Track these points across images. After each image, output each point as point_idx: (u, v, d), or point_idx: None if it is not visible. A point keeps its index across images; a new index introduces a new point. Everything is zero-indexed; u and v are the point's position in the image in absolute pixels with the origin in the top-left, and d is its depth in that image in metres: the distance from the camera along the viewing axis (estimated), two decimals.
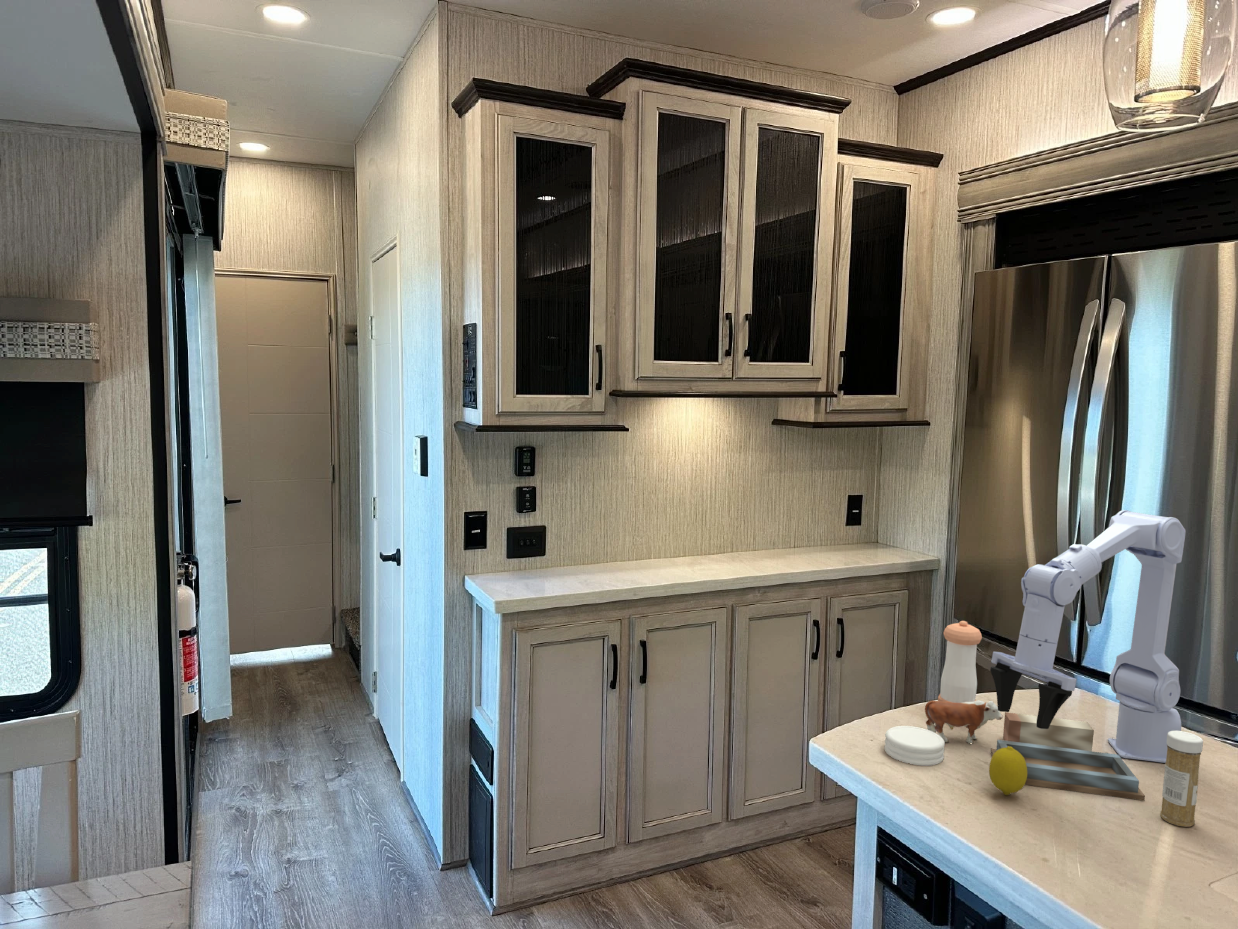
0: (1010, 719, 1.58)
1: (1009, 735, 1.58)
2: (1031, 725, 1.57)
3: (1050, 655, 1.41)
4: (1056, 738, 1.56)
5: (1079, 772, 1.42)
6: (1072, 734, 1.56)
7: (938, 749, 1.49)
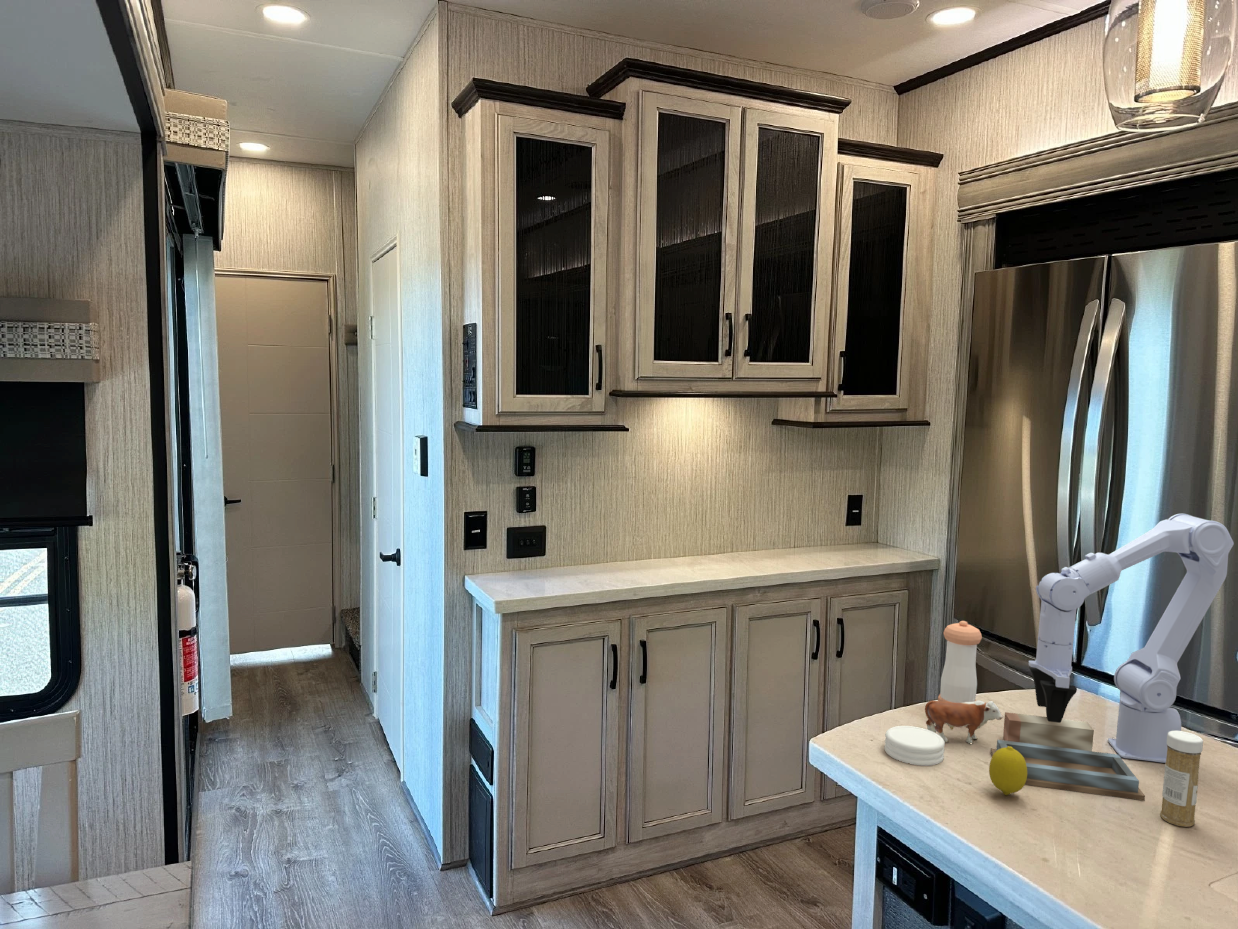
0: (1010, 719, 1.58)
1: (1009, 735, 1.58)
2: (1031, 725, 1.57)
3: (1056, 655, 1.55)
4: (1056, 738, 1.56)
5: (1079, 772, 1.42)
6: (1072, 734, 1.56)
7: (938, 749, 1.49)
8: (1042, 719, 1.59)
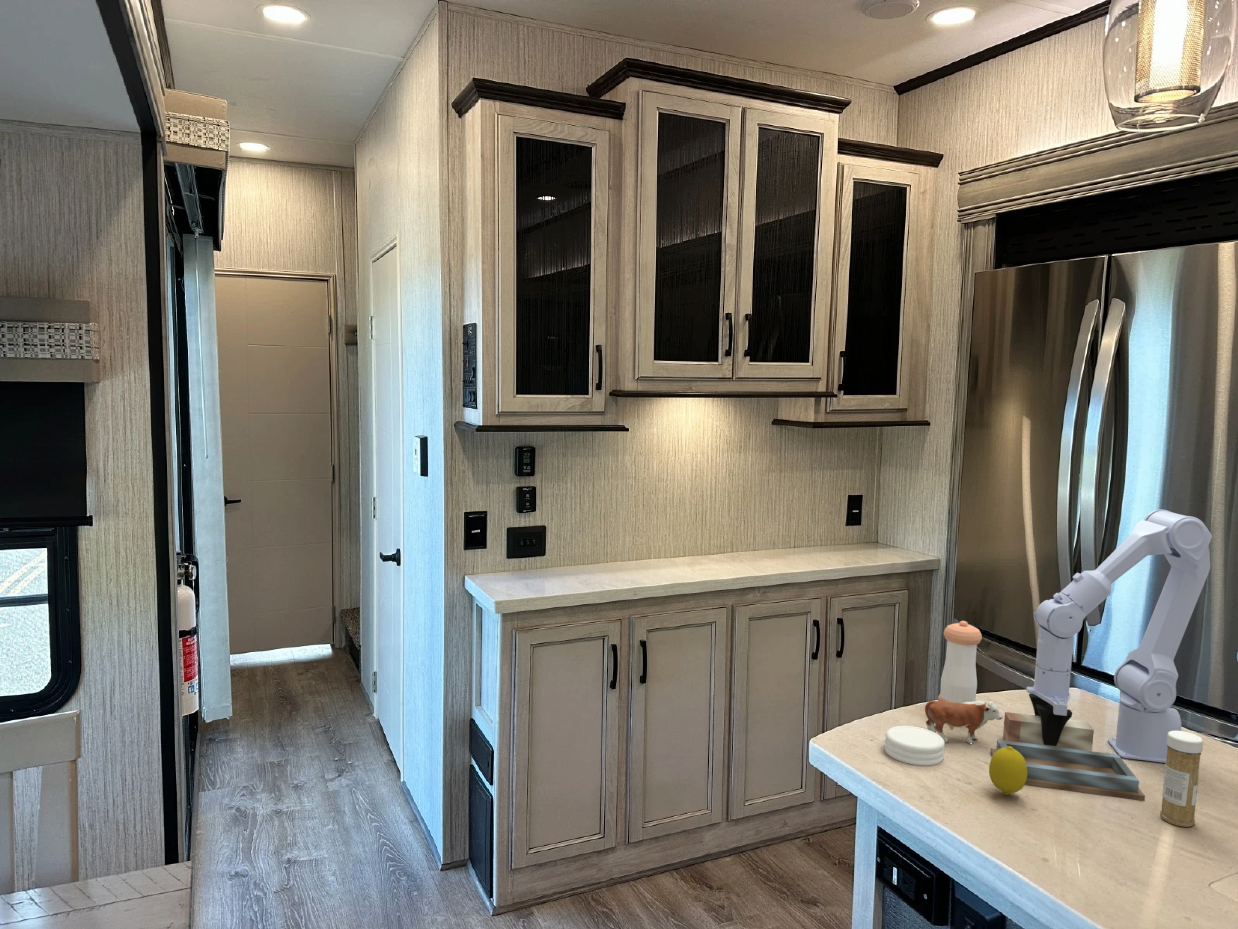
0: (1010, 719, 1.58)
1: (1009, 735, 1.58)
2: (1031, 725, 1.57)
3: (1054, 682, 1.55)
4: None
5: (1079, 772, 1.42)
6: (1072, 733, 1.56)
7: (938, 749, 1.49)
8: None
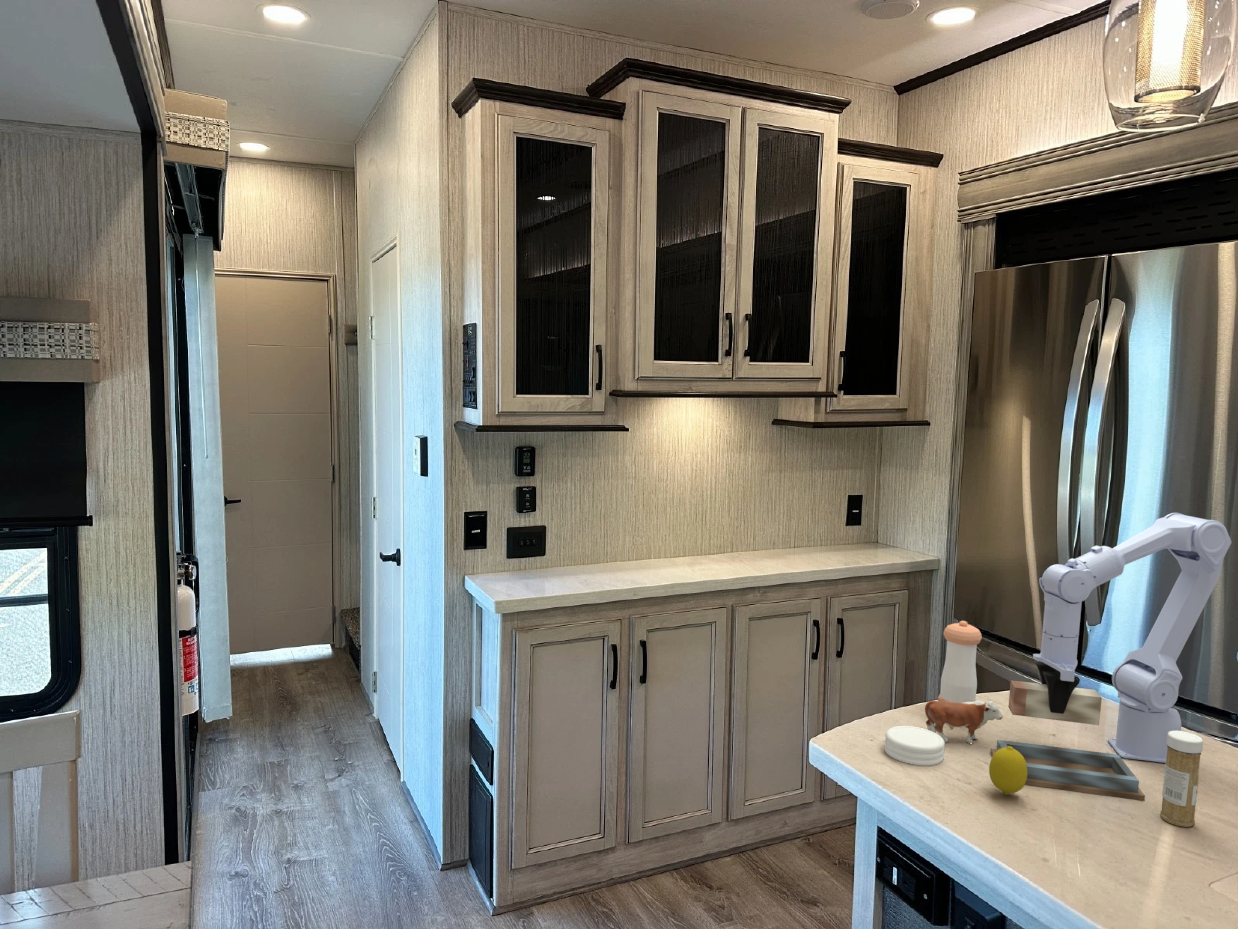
0: (1016, 687, 1.55)
1: (1015, 703, 1.55)
2: (1037, 692, 1.54)
3: (1061, 648, 1.52)
4: None
5: (1079, 772, 1.42)
6: (1080, 701, 1.52)
7: (938, 749, 1.49)
8: None
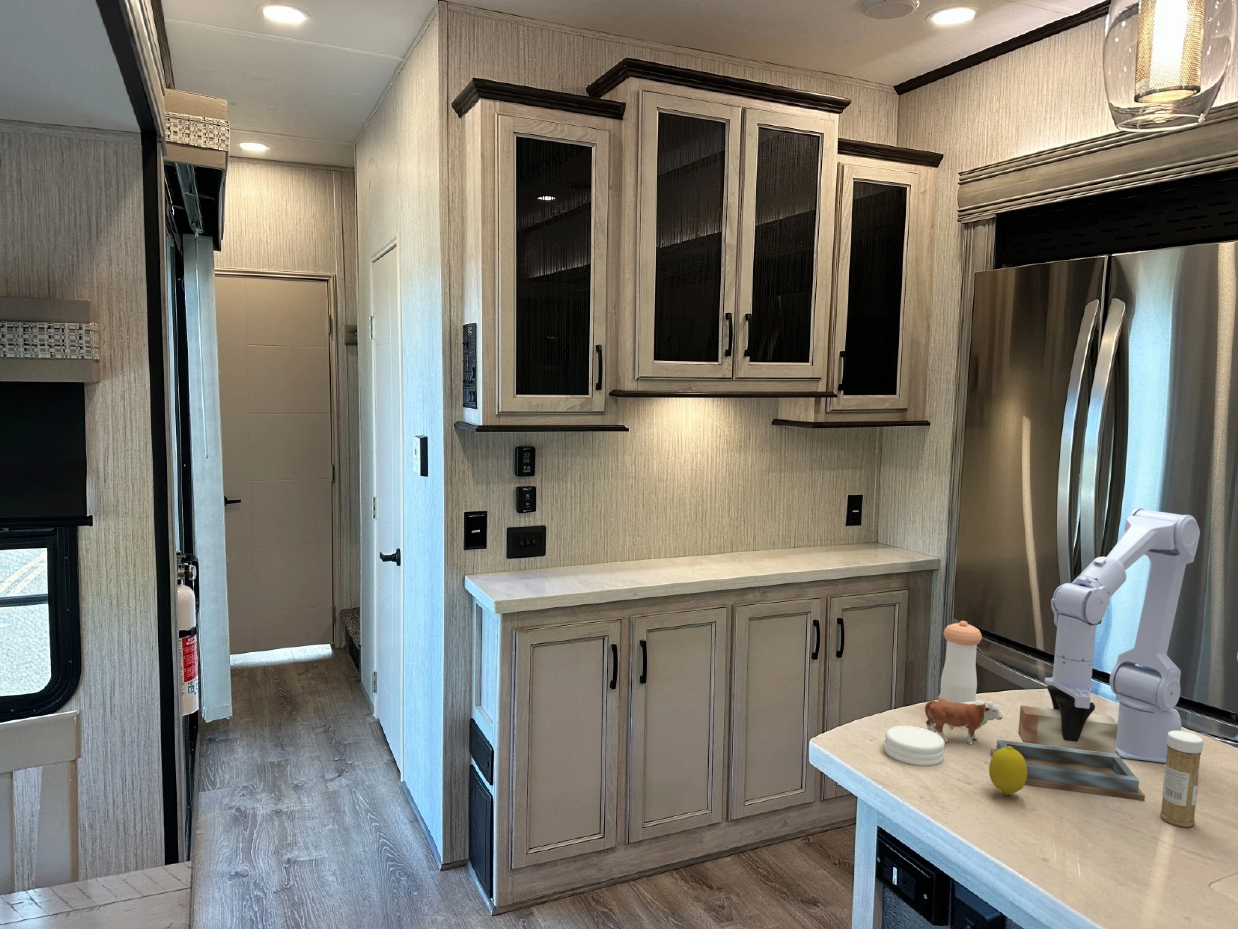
0: (1026, 713, 1.46)
1: (1025, 730, 1.46)
2: (1049, 719, 1.45)
3: (1075, 673, 1.43)
4: None
5: (1079, 772, 1.42)
6: (1094, 728, 1.44)
7: (938, 749, 1.49)
8: None
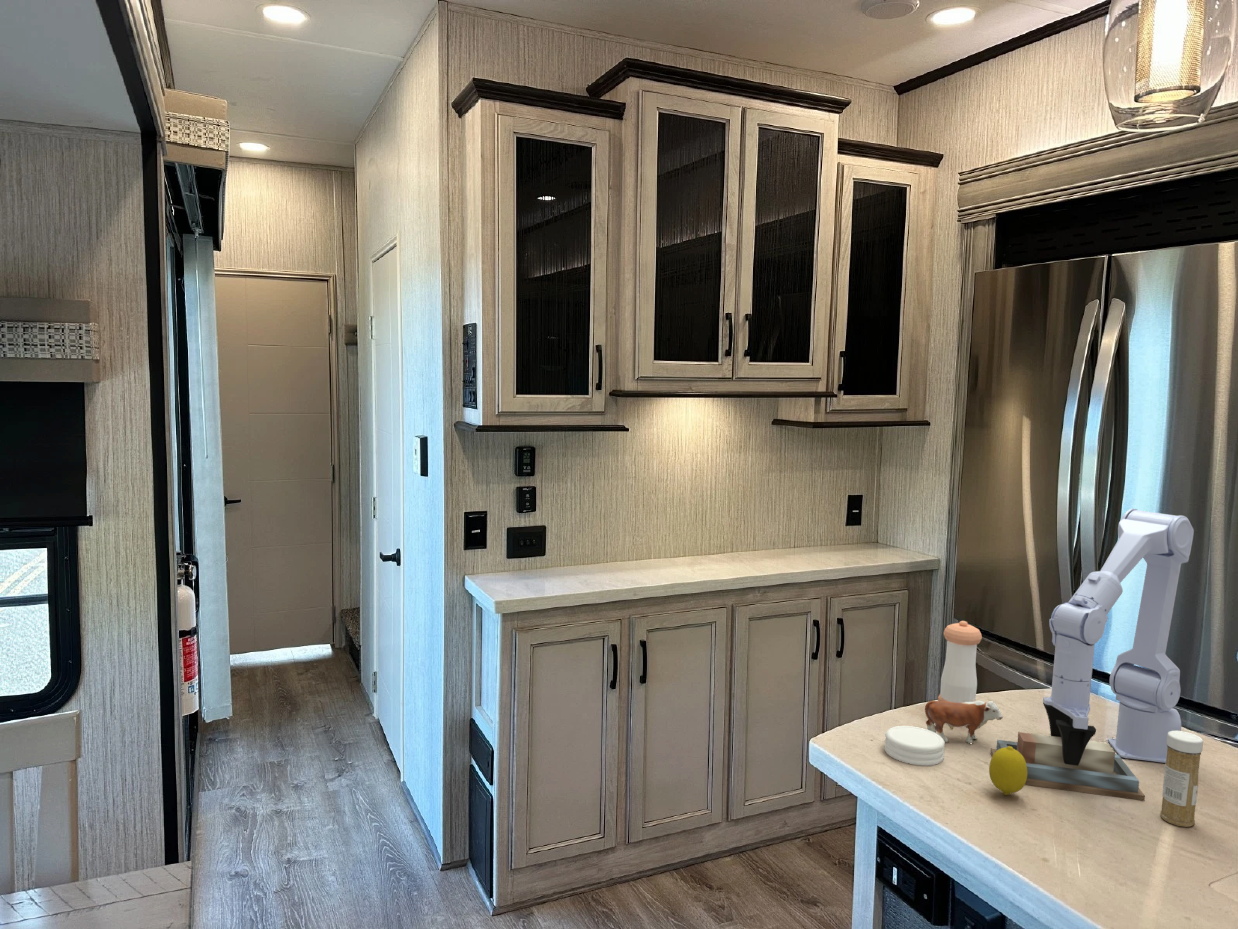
0: (1024, 740, 1.47)
1: None
2: (1047, 746, 1.46)
3: (1074, 693, 1.43)
4: None
5: (1079, 772, 1.42)
6: (1092, 756, 1.44)
7: (938, 749, 1.49)
8: (1058, 740, 1.47)
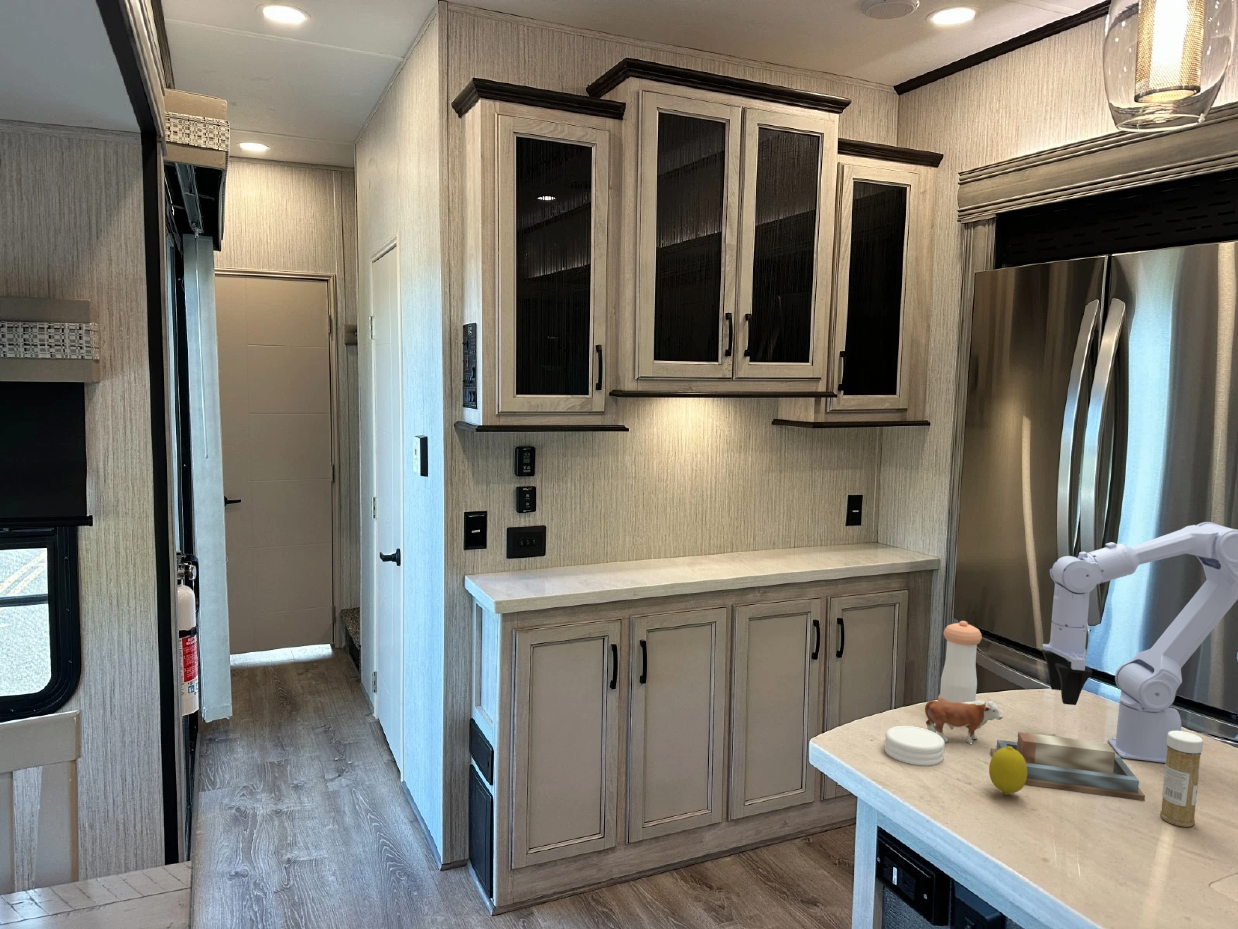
0: (1024, 740, 1.47)
1: None
2: (1047, 746, 1.46)
3: (1071, 638, 1.55)
4: (1073, 761, 1.45)
5: (1079, 772, 1.42)
6: (1092, 756, 1.44)
7: (938, 749, 1.49)
8: (1058, 740, 1.47)
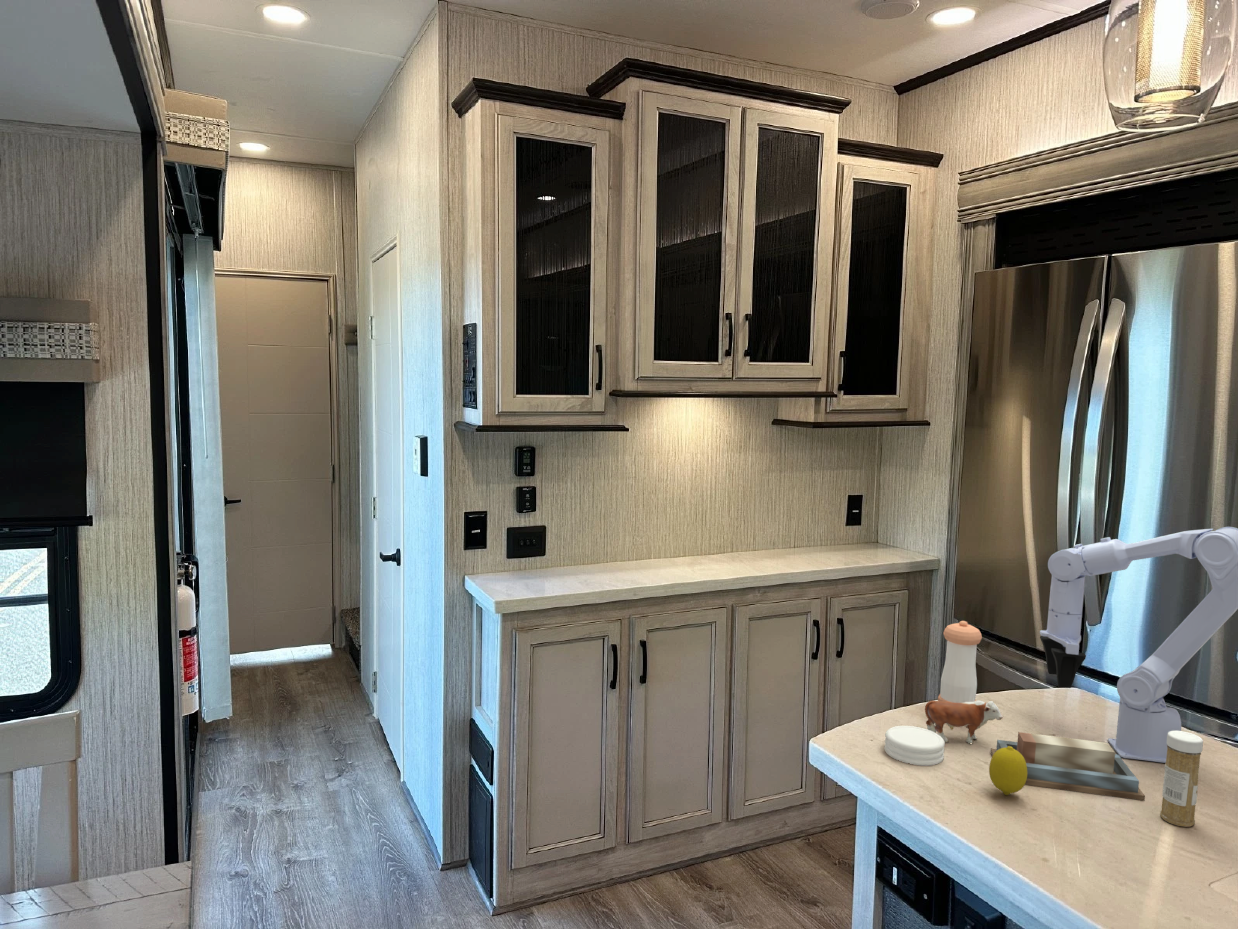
0: (1024, 740, 1.47)
1: None
2: (1047, 746, 1.46)
3: (1066, 625, 1.64)
4: (1073, 761, 1.45)
5: (1079, 772, 1.42)
6: (1092, 756, 1.44)
7: (938, 749, 1.49)
8: (1058, 740, 1.47)
